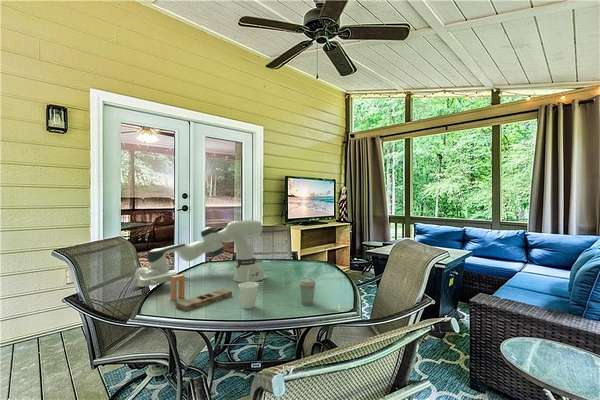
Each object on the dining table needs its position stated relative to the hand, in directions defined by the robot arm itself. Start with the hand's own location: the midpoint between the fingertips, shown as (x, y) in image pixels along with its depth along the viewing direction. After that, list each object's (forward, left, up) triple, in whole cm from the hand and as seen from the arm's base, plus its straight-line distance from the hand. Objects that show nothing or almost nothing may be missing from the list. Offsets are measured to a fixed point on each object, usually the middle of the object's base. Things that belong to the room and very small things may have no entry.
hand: (165, 281), depth 166 cm
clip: (-3, +12, -7) cm, 14 cm away
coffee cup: (-53, +60, -7) cm, 80 cm away
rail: (-13, +26, -7) cm, 30 cm away
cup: (-27, +46, -7) cm, 54 cm away
